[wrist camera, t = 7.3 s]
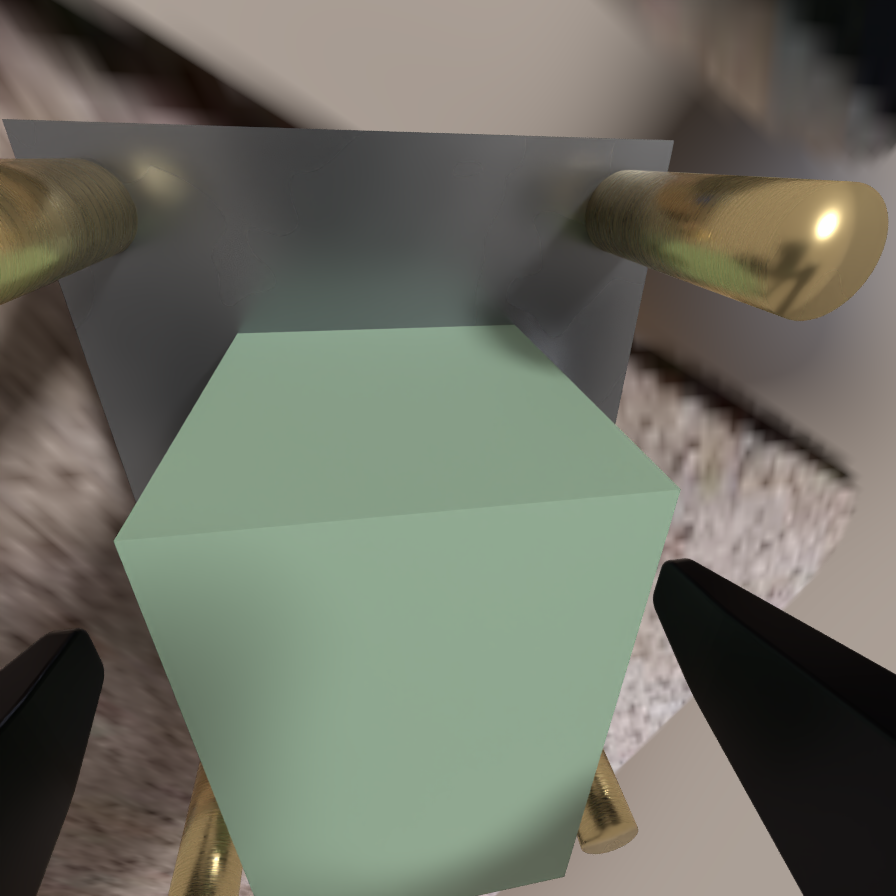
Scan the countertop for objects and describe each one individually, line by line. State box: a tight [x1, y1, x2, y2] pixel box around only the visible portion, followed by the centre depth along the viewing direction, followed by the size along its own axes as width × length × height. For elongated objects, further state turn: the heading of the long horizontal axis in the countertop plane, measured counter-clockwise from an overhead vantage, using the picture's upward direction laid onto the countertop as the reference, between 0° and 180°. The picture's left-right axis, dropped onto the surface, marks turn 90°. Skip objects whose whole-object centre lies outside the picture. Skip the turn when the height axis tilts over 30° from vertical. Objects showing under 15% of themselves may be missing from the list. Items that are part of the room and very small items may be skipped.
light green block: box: [114, 325, 681, 896], centre depth 8 cm, size 8×4×5 cm, turn 179°
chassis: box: [0, 119, 888, 896], centre depth 9 cm, size 13×9×5 cm
